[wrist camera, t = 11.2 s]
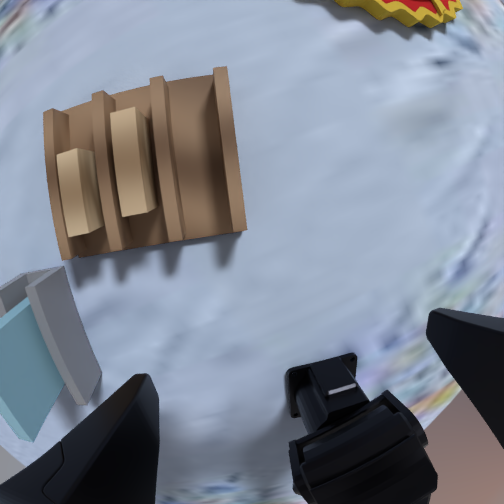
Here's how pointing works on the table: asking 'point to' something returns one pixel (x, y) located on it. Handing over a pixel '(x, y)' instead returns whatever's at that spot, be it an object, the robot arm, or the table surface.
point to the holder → (57, 326)
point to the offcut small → (80, 191)
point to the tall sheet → (26, 373)
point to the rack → (155, 164)
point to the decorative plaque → (409, 10)
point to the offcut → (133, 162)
